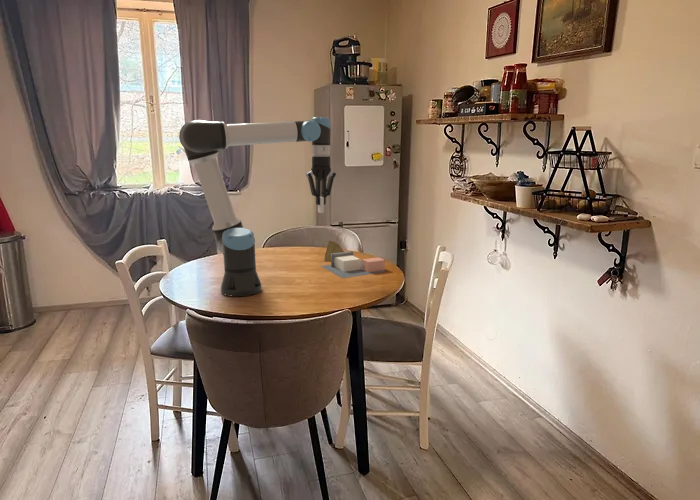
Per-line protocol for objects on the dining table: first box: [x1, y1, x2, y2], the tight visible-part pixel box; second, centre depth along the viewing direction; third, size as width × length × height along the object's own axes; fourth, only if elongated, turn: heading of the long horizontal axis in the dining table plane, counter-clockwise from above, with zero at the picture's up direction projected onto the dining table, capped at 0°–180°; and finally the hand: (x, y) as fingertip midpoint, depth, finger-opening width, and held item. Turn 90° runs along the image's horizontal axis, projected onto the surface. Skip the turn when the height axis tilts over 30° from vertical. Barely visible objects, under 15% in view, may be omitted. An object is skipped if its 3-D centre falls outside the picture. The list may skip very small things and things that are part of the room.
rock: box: [324, 240, 345, 262], centre depth 233 cm, size 11×9×10 cm
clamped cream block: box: [330, 250, 361, 271], centre depth 220 cm, size 11×12×6 cm
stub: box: [361, 257, 386, 273], centre depth 215 cm, size 8×6×4 cm
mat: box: [320, 260, 387, 279], centre depth 218 cm, size 21×22×1 cm
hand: (320, 212), depth 212 cm, fingers closed
